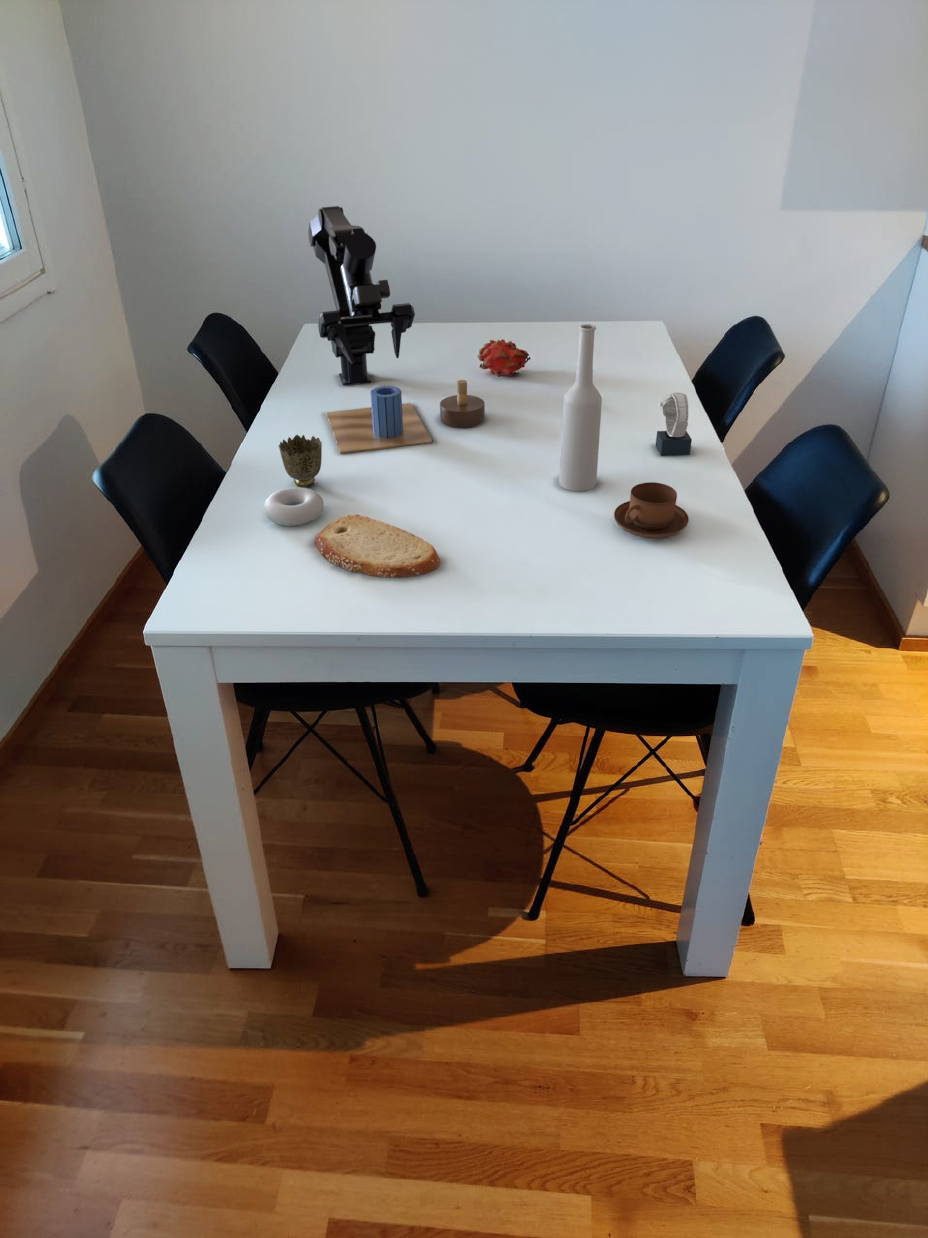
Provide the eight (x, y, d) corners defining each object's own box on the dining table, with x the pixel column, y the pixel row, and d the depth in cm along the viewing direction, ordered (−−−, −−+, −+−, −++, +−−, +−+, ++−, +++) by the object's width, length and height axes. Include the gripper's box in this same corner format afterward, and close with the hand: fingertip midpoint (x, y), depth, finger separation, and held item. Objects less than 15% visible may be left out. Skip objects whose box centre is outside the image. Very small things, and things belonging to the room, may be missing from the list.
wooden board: (326, 414, 195) (325, 412, 195) (411, 404, 199) (411, 402, 198) (340, 453, 179) (340, 451, 179) (432, 442, 183) (432, 440, 183)
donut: (317, 531, 155) (330, 501, 163) (315, 512, 153) (328, 484, 161) (258, 529, 156) (274, 499, 164) (255, 510, 154) (271, 482, 162)
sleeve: (378, 425, 189) (376, 384, 184) (406, 427, 188) (404, 386, 183) (369, 437, 184) (366, 395, 180) (398, 439, 183) (395, 397, 178)
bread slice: (446, 571, 144) (445, 550, 142) (329, 591, 140) (327, 569, 138) (417, 517, 158) (416, 497, 156) (310, 534, 154) (308, 513, 152)
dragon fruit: (473, 379, 215) (525, 386, 215) (476, 368, 206) (530, 376, 207) (477, 342, 215) (529, 349, 216) (481, 330, 206) (534, 338, 207)
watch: (681, 440, 182) (688, 386, 176) (692, 458, 176) (699, 402, 169) (652, 441, 182) (658, 387, 176) (662, 459, 175) (669, 403, 169)
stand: (436, 413, 195) (434, 375, 190) (477, 408, 197) (477, 371, 192) (446, 430, 188) (445, 391, 183) (489, 425, 189) (489, 387, 185)
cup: (332, 478, 171) (328, 437, 166) (314, 496, 165) (309, 454, 160) (296, 472, 173) (291, 432, 168) (276, 490, 167) (270, 448, 162)
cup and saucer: (670, 551, 148) (675, 517, 144) (601, 532, 153) (603, 498, 150) (698, 519, 156) (702, 486, 153) (631, 502, 162) (634, 469, 158)
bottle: (603, 482, 168) (616, 325, 152) (581, 495, 164) (591, 335, 148) (574, 471, 172) (583, 317, 156) (551, 483, 168) (558, 326, 152)
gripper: (314, 269, 178) (331, 345, 176) (410, 260, 182) (427, 334, 180) (312, 300, 189) (327, 372, 186) (402, 291, 193) (418, 361, 191)
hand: (375, 359), depth 186 cm, fingers open, 9 cm apart
